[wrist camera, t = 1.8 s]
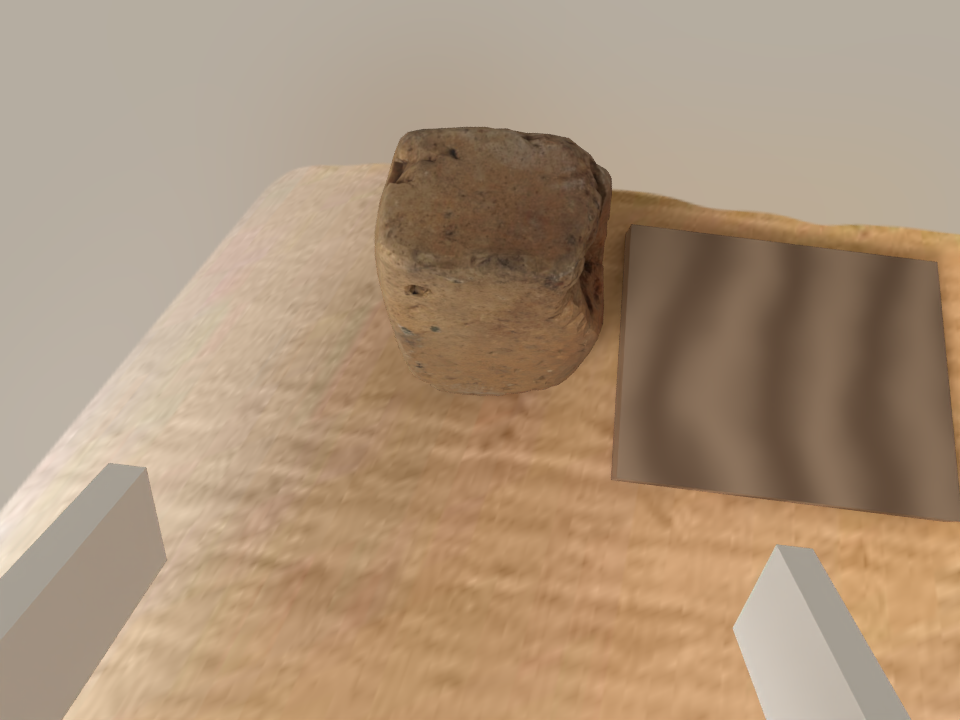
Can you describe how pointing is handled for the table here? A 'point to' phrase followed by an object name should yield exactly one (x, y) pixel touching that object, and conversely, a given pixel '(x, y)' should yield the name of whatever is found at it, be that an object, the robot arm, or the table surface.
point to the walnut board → (784, 375)
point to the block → (492, 257)
